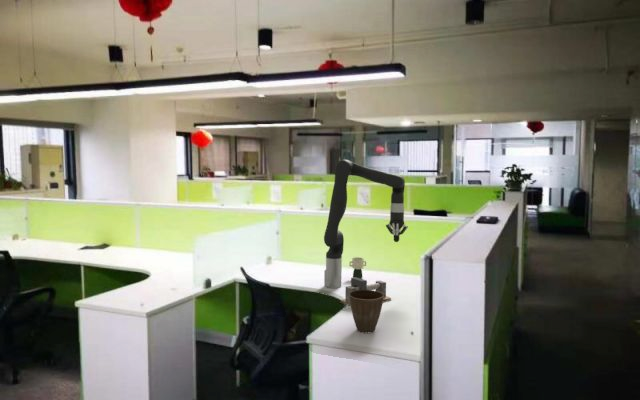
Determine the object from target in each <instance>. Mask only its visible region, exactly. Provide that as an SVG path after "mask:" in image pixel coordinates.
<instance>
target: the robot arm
mask: <svg viewBox="0 0 640 400" xmlns="http://www.w3.org/2000/svg"><path fill="white" fill-rule="evenodd" d="M349 176H355V177H360V178H362V179H366V180H367V181H370V182H373V183H377V184H381V185H385V186H387V187H391V188H392V191H391V195H390V198H391V199H390V212H389V213H390V214H389V215H390V216H389V217H390V219H389V222H388V223H387V224H385V227H386V229H387V231H388V232H389V233H390V234H392V235H393V241H394V243H398V242H400V236H401V235H403V234H404V233H405V232H406V231H407V229H408V227H409V226H408V225H406V223H405V221H404V220H405V219H404V218H405V203H404V202H405V200H404V199H405V198H404V197H405V193H404V192H405V185H406V181H405V178H404V177H403V176H402V175H398V174H397V175H396V174H392V173H388V172H386V171H383V170H379V169H374V168H371V167H367V166H363V165H360V164H358V163H355V162H353V161H351V160H349V159H341V160H338V162H337V163H336V164H335V169H334V183H333V188H332V194H331V200H330V205H329V206H330V207H329V213H328V219H327V224H326V228H325V232H324V235H323V242H324V244H325V246H327V247H329V248H328V250H327V251H326V254H325V270H324V282H323V283H324V287H326V288H329V289H330V288H331V289H338V288H341V287H342V262H343V253H344V244H345V242H344V240H345V239H344V234H343V232H342V231H341V230H339V225H340V223H341V220H342V218H343V217H344V214H345V213H346V209H347V205H348V203H347V202H348V191H347V186H348V185H347V184H348V180H349Z"/></svg>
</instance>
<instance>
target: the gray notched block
mask: <svg viewBox="0 0 640 400" xmlns="http://www.w3.org/2000/svg"><path fill="white" fill-rule="evenodd" d="M350 279H351V280H350V286H352V287H358V286H359V290H367V285H368V280H366V279H363V278H361V279H360V278H357V277H354V278H353V277H351V278H350Z"/></svg>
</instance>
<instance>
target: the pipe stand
mask: <svg viewBox="0 0 640 400" xmlns="http://www.w3.org/2000/svg"><path fill="white" fill-rule="evenodd" d="M357 290H359V286H358V287H352V286H351V285H348V286H345V293H344V294H345V298H344V299H340V303H341V304H343V305H347V306H349V307H351V304H350V297H349V293H351V292H353V291H357ZM367 290H372V291H378V292H381V293H382V294H383V295H384V297H383V303H385V302H388V301H392V297H390V296H387V294H386V293H387V282H386V281H382V280H376V281H375V283H372V284H367Z"/></svg>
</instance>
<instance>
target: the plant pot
mask: <svg viewBox="0 0 640 400" xmlns="http://www.w3.org/2000/svg"><path fill="white" fill-rule="evenodd" d="M349 297H350V304H351V306H350V309H351V313H352V318H353V322H354V324H355V327H356V329H357V332H359V331H360V333H362V332H367V333H366V334H369V333H368V332H372V333H374V332H375V330H376V327H377V324H378V322H379V319H380V315H381V312H382V307H383V303H384V302H383V297H384V295H383V294H382V293H381V292H378V291H376V290H357V291H353V292H351V293H349Z"/></svg>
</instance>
